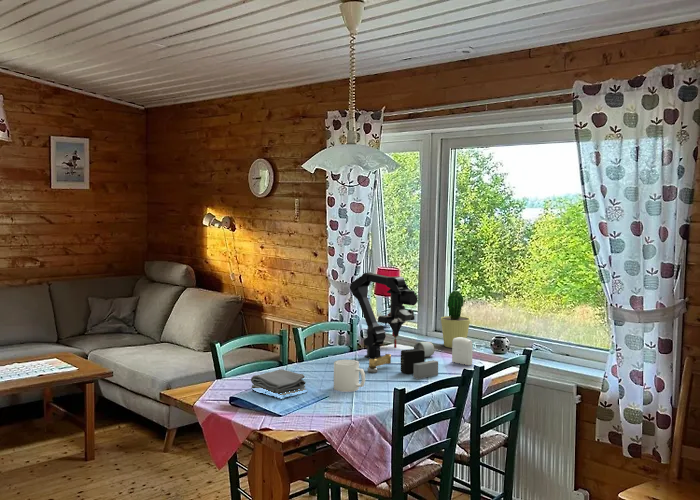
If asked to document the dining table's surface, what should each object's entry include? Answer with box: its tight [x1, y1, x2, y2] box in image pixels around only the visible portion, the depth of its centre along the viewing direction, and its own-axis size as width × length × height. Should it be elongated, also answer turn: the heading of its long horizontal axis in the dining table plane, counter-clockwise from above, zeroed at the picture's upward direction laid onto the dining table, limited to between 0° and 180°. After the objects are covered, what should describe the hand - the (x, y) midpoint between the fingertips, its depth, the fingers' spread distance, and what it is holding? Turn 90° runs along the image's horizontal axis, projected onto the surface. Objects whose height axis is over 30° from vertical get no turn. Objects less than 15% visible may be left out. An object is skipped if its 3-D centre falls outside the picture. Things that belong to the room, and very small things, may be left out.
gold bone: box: [368, 353, 392, 368], centre depth 309 cm, size 14×3×4 cm, turn 141°
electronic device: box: [399, 348, 426, 375], centre depth 304 cm, size 4×10×10 cm, turn 115°
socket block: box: [412, 359, 439, 380], centre depth 298 cm, size 3×12×6 cm, turn 128°
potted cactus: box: [440, 290, 471, 349], centre depth 362 cm, size 15×15×30 cm
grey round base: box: [367, 367, 378, 374], centre depth 305 cm, size 4×4×2 cm
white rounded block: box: [451, 337, 474, 366], centre depth 323 cm, size 10×4×12 cm, turn 44°
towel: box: [250, 368, 307, 395], centre depth 270 cm, size 15×18×8 cm
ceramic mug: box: [413, 341, 436, 358], centre depth 337 cm, size 11×8×8 cm
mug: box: [333, 359, 366, 393], centre depth 276 cm, size 14×10×11 cm
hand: (396, 336), depth 323 cm, fingers closed
